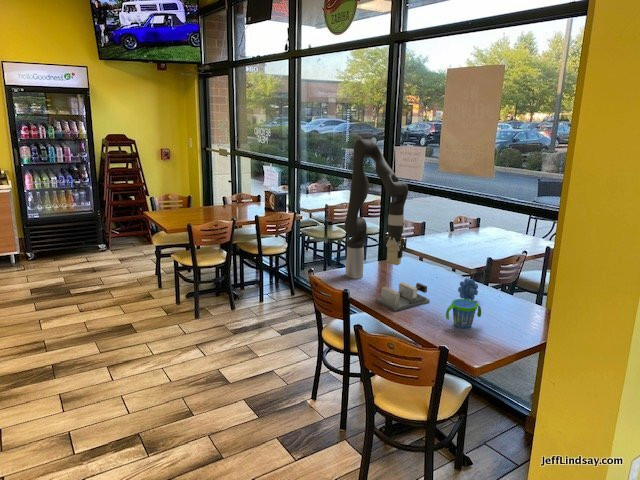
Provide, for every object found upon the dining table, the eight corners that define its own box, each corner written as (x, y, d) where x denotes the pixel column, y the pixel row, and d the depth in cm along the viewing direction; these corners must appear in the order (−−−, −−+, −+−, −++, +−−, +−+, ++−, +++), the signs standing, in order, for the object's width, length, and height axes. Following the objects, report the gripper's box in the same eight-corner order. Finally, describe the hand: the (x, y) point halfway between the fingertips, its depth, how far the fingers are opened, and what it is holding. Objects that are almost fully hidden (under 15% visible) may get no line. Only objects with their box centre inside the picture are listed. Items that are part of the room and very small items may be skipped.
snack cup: (449, 331, 202) (451, 308, 199) (440, 320, 212) (442, 299, 209) (485, 330, 203) (487, 307, 201) (474, 319, 214) (477, 298, 211)
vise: (375, 301, 232) (376, 286, 230) (409, 293, 244) (410, 279, 242) (394, 311, 221) (395, 296, 219) (429, 302, 232) (430, 287, 230)
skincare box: (386, 263, 236) (387, 239, 233) (389, 261, 240) (390, 237, 237) (398, 265, 233) (399, 241, 230) (401, 263, 237) (402, 239, 234)
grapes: (462, 305, 228) (464, 282, 225) (454, 300, 235) (456, 277, 231) (482, 302, 232) (485, 279, 229) (473, 297, 239) (476, 274, 235)
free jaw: (398, 294, 237) (399, 283, 235) (415, 290, 242) (416, 279, 241) (412, 301, 228) (413, 289, 227) (429, 296, 234) (430, 285, 233)
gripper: (380, 221, 236) (378, 253, 240) (399, 227, 224) (398, 260, 228) (391, 219, 239) (390, 251, 244) (411, 225, 228) (410, 258, 232)
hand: (394, 255), depth 236 cm, fingers closed on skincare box, 7 cm apart
